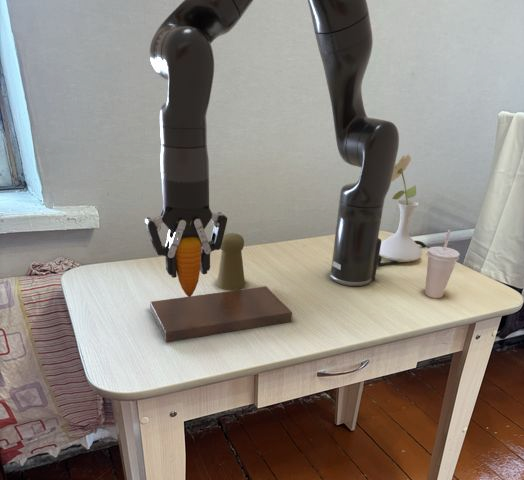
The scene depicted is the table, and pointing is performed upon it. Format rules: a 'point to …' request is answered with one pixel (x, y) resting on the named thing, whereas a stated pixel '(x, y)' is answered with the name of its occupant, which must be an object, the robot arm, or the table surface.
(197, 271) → the carrot
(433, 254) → the smoothie
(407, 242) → the flower in vase
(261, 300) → the cutting board
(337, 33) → the robot arm
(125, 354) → the table surface
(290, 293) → the table surface
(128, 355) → the table surface
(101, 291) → the table surface
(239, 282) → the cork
